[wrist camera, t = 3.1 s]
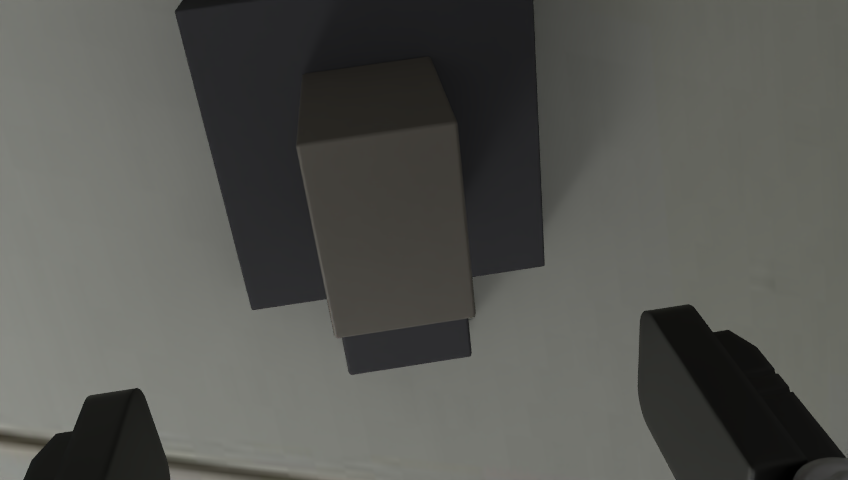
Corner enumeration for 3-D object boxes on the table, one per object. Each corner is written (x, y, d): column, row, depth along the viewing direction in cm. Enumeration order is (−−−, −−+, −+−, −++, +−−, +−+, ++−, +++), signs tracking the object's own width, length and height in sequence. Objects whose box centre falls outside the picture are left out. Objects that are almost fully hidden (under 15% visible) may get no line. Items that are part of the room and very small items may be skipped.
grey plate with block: (519, -48, 22) (588, 6, 16) (537, 319, 27) (593, 454, 22) (183, -3, 21) (131, 69, 16) (274, 360, 27) (260, 508, 21)
